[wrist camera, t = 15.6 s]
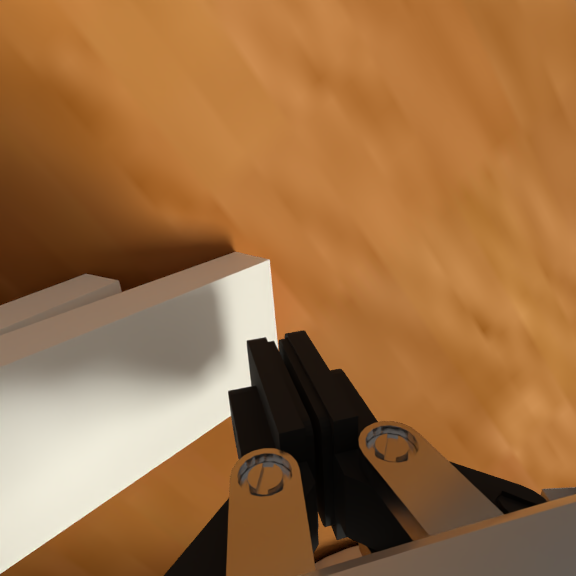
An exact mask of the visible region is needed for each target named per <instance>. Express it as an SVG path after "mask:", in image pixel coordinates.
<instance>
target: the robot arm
mask: <svg viewBox="0 0 576 576" xmlns="http://www.w3.org/2000/svg"><path fill="white" fill-rule="evenodd" d="M247 352H248V361H249V370H250V379H251V386H250V387H245V388H240V389H235V390H230V391H228V396H229V404H230V411H231V418H232V424H233V430H234V436H235V442H236V448H237V453H238V458H239V460H238V461H237V462H236V464H235V465H234V467H233V468H232V471H231V475H230V487H229V499H228V500H227V501H226V502H225V503H224V505H223V506H222V507H221V508H220V509H219V511H218V512H217V513H216V514H215V515H214V517H213V518H212V519H211V520H210V521H209V523H208V524H207V525H206V526H205V527H204V528H203V530H202V531H201V532H200V533H199V534H198V536H197V537H196V538H195V539H194V540H193V542H192V543H191V544H190V545H189V546H188V548H187V549H186V550H185V551H184V552H183V554H182V555H181V556H180V557H179V558H178V560H177V561H176V562H175V563H174V564H173V565H172V567H171V568H170V569H169V570H168V571H167V573H166V574H165V575H164V576H576V487H574V488H554V489H542V492H541V495H539V494H537V493H536V492H535V491H533V490H531V489H528V488H526V487H524V486H521V485H519V484H516V483H513V482H510V481H507V480H504V479H501V478H497V477H494V476H491V475H488V474H485V473H482V472H479V471H476V470H473V469H470V468H467V467H464V466H461V465H458V464H455V463H452V462H449V461H448V460H447V459H446V458H445V457H444V456H443V455H441V454H440V453H439V452H438V451H437V450H436V449H435V448H434V447H433V446H432V445H431V444H430V443H429V442H428V441H427V440H426V439H425V438H424V437H423V436H422V435H421V434H420V433H418V432H417V431H416V430H414V429H413V428H412V427H410V426H407V425H405V424H403V423H399V422H394V421H381V422H378V421H377V420H376V418H375V417H374V415H373V414H372V413H371V411H370V410H369V408H368V407H367V405H366V404H365V402H364V401H363V399H362V398H361V396H360V395H359V393H358V392H357V390H356V389H355V388H354V386H353V385H352V383H351V382H350V380H349V379H348V377H347V376H346V374H345V373H344V372H343V371H342V369H336V370H331V371H330V370H329V368H328V367H327V365H326V364H325V362H324V361H323V359H322V357H321V356H320V354H319V353H318V351H317V349H316V348H315V346H314V345H313V343H312V341H311V340H310V338H309V337H308V335H307V333H306V332H305V331H298V332H292V333H286V334H285V339H281V340H279V350H278V348H277V346H276V344H275V342H274V341H270V342H268V341H267V339H266V337H264V338H258V339H252V340H247ZM318 513H319V516H320V518H321V521H322V523H323V525H324V527H327V526H332V529H333V531H334V534H335V536H336V539H337V540H339V539H342V538H346V537H348V538H350V539H352V540H355V541H357V542H359V545H357V546H354V547H350V548H347V549H344V550H342V551H339V552H337V553H334V554H332V555H330V556H327V557H325V558H324V559H322V560H320V561H318V562H316V563H315V562H314V556H313V553H314V551H315V550H316V548H317V546H318V544H319V542H318Z"/></svg>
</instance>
